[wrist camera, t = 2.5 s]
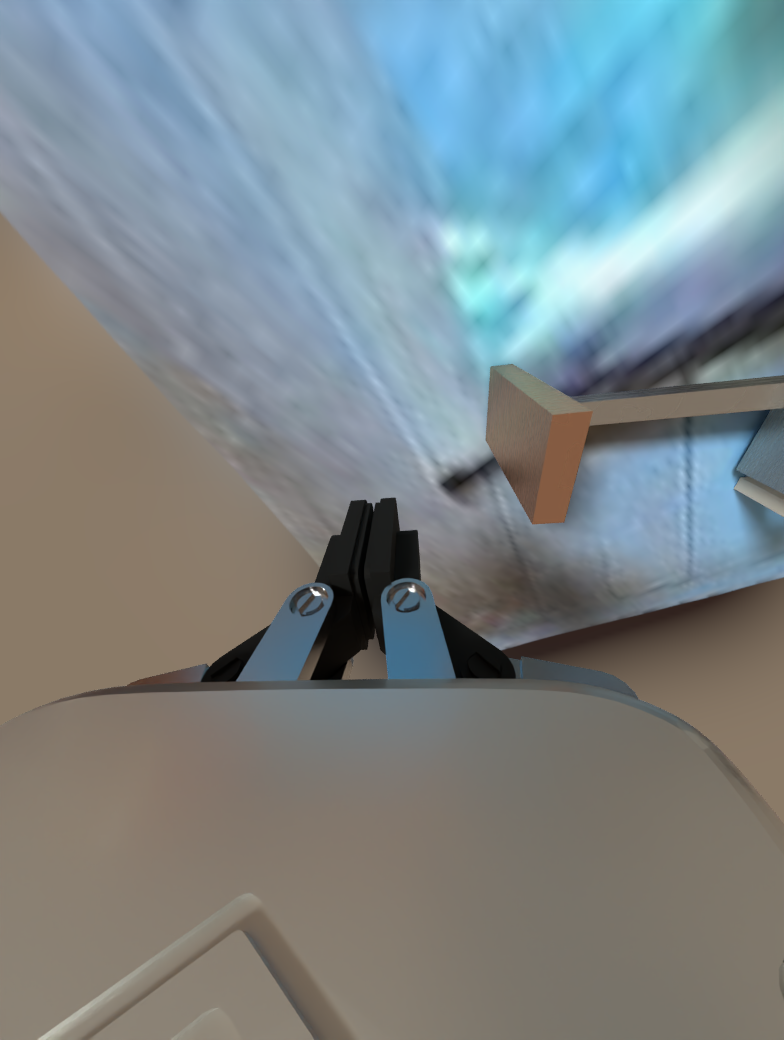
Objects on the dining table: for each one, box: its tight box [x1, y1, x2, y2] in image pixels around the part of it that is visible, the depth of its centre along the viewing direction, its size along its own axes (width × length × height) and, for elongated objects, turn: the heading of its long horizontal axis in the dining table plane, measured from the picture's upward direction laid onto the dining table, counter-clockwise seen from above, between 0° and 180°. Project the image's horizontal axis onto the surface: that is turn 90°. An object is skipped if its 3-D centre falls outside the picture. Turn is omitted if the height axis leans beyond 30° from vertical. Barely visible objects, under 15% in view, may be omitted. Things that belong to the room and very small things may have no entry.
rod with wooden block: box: [486, 364, 784, 524], centre depth 16 cm, size 13×20×11 cm, turn 96°
